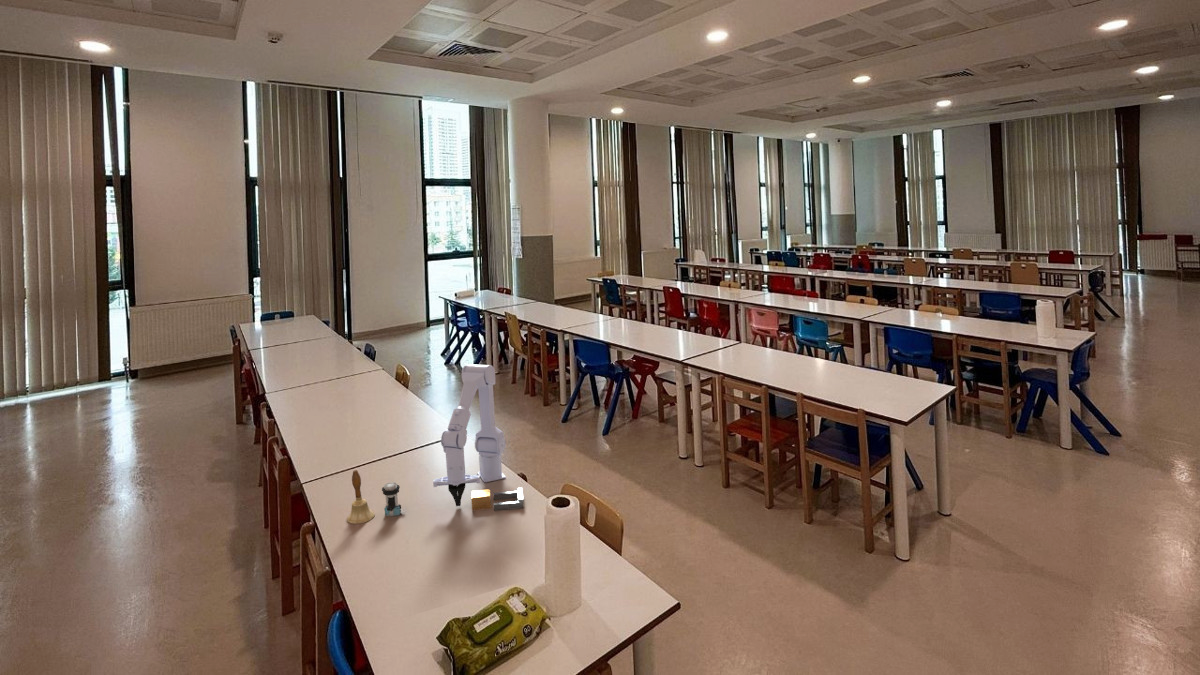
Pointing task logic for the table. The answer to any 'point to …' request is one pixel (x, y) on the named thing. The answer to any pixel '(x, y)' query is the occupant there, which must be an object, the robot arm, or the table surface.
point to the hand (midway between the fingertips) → (458, 504)
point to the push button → (392, 499)
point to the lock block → (481, 499)
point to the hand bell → (359, 504)
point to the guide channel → (509, 495)
